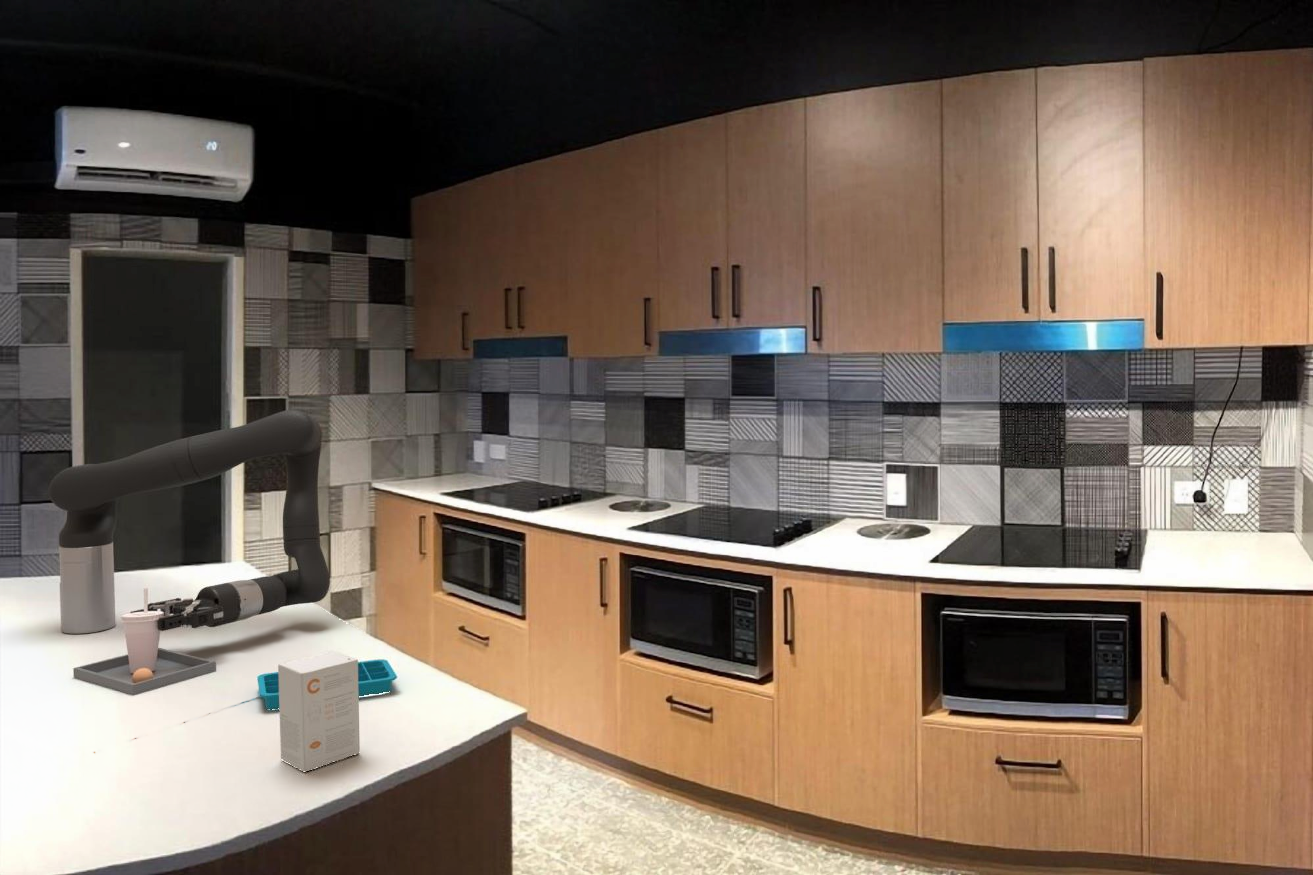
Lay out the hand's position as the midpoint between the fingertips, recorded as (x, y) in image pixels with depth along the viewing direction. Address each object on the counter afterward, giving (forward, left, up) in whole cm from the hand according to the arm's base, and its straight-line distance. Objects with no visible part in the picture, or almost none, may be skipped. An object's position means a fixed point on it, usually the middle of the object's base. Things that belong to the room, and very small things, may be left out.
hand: (144, 621), depth 155 cm
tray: (+3, -2, -9) cm, 9 cm away
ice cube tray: (+36, +8, -9) cm, 38 cm away
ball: (+9, -6, -8) cm, 13 cm away
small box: (+56, -10, -9) cm, 57 cm away
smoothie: (+1, -1, -8) cm, 8 cm away
